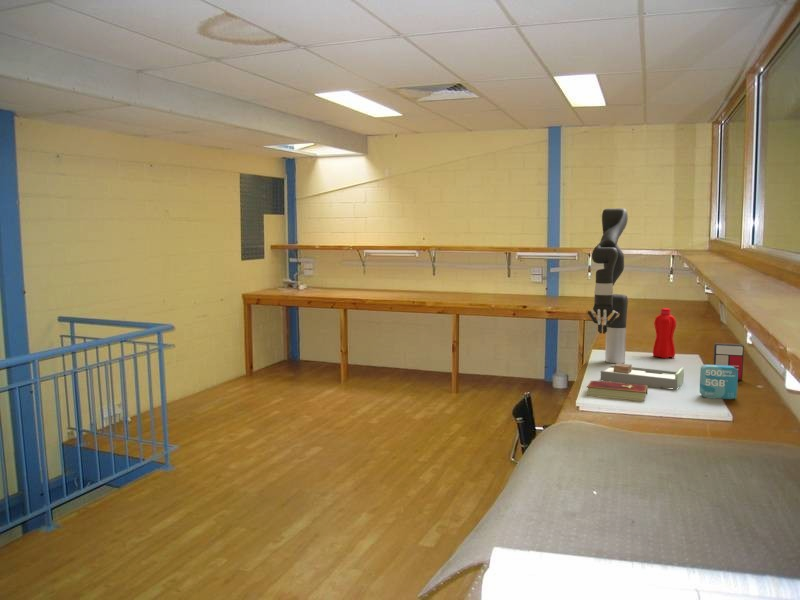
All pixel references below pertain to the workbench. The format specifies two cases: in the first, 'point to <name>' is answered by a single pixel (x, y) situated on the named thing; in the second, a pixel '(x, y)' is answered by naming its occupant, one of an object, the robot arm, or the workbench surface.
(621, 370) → the walnut block
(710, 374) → the data package
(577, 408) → the workbench surface
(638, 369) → the box
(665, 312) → the water bottle
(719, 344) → the grey white red block
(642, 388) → the hardcover book
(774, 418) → the workbench surface
